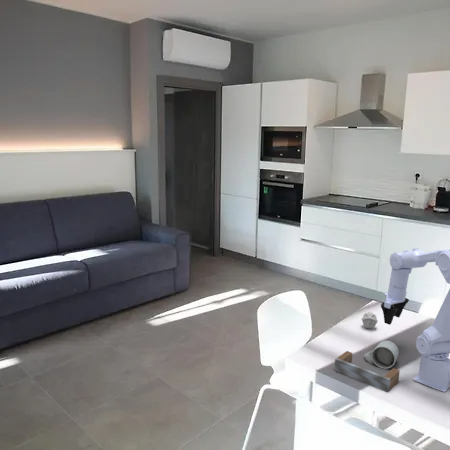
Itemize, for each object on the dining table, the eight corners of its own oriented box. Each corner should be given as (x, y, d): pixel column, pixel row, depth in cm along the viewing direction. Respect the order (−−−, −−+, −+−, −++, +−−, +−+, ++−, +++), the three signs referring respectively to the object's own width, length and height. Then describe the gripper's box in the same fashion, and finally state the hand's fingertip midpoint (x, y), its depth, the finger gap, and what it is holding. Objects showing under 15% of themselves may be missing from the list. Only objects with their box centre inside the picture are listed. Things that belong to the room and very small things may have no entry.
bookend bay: (398, 382, 138) (399, 370, 137) (387, 392, 132) (389, 380, 132) (346, 361, 150) (347, 350, 149) (334, 370, 144) (335, 358, 144)
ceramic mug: (398, 361, 151) (400, 340, 150) (394, 371, 144) (396, 349, 143) (367, 353, 157) (368, 333, 155) (361, 363, 150) (362, 342, 148)
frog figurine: (360, 330, 176) (361, 313, 174) (361, 323, 182) (362, 307, 181) (376, 332, 174) (378, 316, 172) (377, 326, 180) (378, 309, 179)
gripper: (395, 276, 162) (389, 309, 165) (378, 287, 151) (372, 322, 155) (414, 282, 157) (408, 316, 161) (398, 293, 147) (392, 330, 151)
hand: (392, 319), depth 158 cm, fingers open, 7 cm apart
